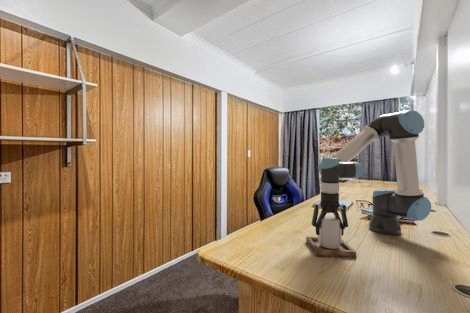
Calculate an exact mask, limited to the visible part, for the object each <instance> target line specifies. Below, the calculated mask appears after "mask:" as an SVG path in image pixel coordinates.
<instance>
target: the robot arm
mask: <svg viewBox="0 0 470 313" xmlns="http://www.w3.org/2000/svg"><path fill="white" fill-rule="evenodd" d="M424 128H425V120H424V117H423V115H422V114H421V113H419V112H418V111H417V110H412V109H409V110H401V111H397V112H391V113H385V114H382V115H380V116H379V115H378V116H377V117H375V118H374V119H373V120H371V121H369V122H368V123H367V124H365V126H363V128H361V132H359V134H357V135H356V136H355V137H354V138H352V139H351V140H350V141H348V143H346V144H345V145H344V146H343V147H342V148H340V149H339V150H338V151H337V152H336V153H334V155H333V156H331V157H322V158H321V161H320V162H319V164H318V165H317V169H318V172H319V173H320V190H321V192H320V202H319V203H318V204H317V203H314V204H313V215H312V219H311V225H312V227H314V228H315V234H316V235H317V237H318V242H319V243H321V234H322V229H321V228H320V226H321V224H322V219H324V217H325V216H327V214H333V217H335V218H337V219H340V228H339V243H341V244H342V240H343V239H342V238H343V237H342V236H344V235H345V234H344V233H345V232H344V230H345V229H346V228H349V223H348V217H347V205H345V204H344V203H340V202H339V201H340V194H339V191H340V179H358V178H360V177H361V176H362V175H363V173H364V168H363V165H362V164H361V163H360V162H357V161H352V160H353V159H354V158H355V157H356V156H358V155H359V154H360V153H361V152H362V151H363V150H364V149H365V148H366V147H368V146H369V145H370V144H371V143H373V142H377V141H378V140H379V139H380V138H384V137H388V138H389V141H391V142H392V143H393V151H394V161H395V174H396V184H397V189H374V190H373V191H372V198H371V199H372V216H371V218H370V221H369V223H368V229H369V230H370V231H373V232H375V233H378V234H383V235H391V236H397V235H401V234H402V227H401V225H400V222H399V220H398V219H399V218H398V217H400V218H405V219H408V220H411V221H412V220H413V221H416V222H417V221H418V222H420V221H423V220H425V219H426V218H428V216H429V215H430V213H431V211H432V202H431V201H430V199H428V198H427V197H425V194H424V192H423V191H422V190H421V189H420V184H419V172H418V159H417V150H416V147H417V146H416V141H417V139H418V138H419V137H420V135H419V134H420V133H422V132H423V131H424ZM320 208H321V211H319V210H320ZM338 209H340V213H339V212H338ZM319 212H320V214H319ZM339 214H341V217H340V215H339Z"/></svg>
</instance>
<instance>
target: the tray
mask: <svg viewBox="0 0 470 313" xmlns="http://www.w3.org/2000/svg"><path fill="white" fill-rule="evenodd" d="M305 242H306V244H307V245H308V246H309V247H310V249H311V250H312V252H313V253H314V255H315V256H316V257H317V258H342V259H343V258H346V259H347V258H349V259H350V258H352V259H353V258H354V259H356V258H357V251H356V250H355V249H354V248H352V246H350V245H349V244H348V243H347V242H346V241H344V240H343V239H342V244H341V243H339V248H336V249H330V248H326V247H323V246H321V245H320V243H319V242H318V236H306V240H305Z"/></svg>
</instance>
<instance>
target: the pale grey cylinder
mask: <svg viewBox="0 0 470 313" xmlns="http://www.w3.org/2000/svg"><path fill="white" fill-rule="evenodd" d="M340 219H341V218H340ZM340 219H337V218H335V216H330V215H325V217H324V219H322V224H321V226H320V228H321V229H322V234H321V243H320V245H321V246H323V247H326V248H330V249H336V248H339V228H340Z"/></svg>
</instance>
